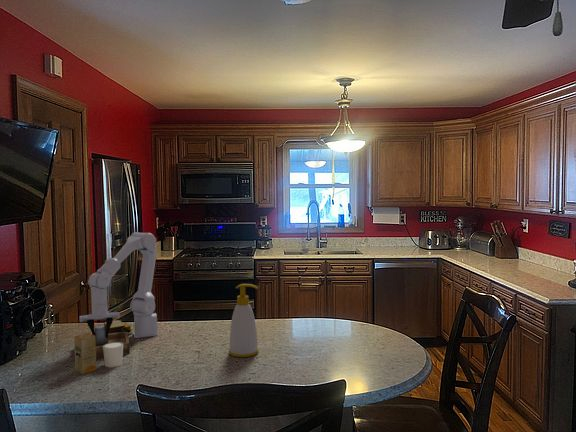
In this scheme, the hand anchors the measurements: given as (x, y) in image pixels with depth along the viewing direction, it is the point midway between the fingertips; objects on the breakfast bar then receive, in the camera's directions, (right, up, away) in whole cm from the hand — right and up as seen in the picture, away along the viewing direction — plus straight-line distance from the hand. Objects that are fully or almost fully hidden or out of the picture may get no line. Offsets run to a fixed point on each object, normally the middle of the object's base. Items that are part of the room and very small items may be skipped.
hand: (100, 337), depth 179 cm
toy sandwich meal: (-1, -4, +19) cm, 19 cm away
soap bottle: (+57, -4, -6) cm, 57 cm away
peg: (0, -2, 0) cm, 2 cm away
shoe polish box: (+4, -6, -22) cm, 23 cm away
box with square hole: (+2, -4, -2) cm, 5 cm away
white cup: (+11, -5, -17) cm, 21 cm away
